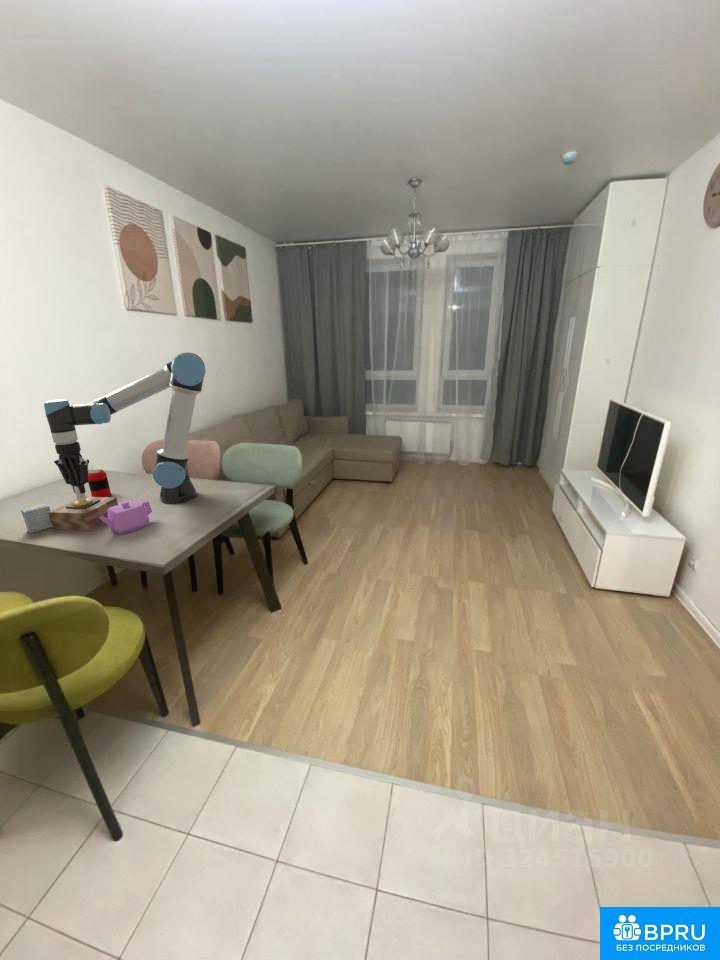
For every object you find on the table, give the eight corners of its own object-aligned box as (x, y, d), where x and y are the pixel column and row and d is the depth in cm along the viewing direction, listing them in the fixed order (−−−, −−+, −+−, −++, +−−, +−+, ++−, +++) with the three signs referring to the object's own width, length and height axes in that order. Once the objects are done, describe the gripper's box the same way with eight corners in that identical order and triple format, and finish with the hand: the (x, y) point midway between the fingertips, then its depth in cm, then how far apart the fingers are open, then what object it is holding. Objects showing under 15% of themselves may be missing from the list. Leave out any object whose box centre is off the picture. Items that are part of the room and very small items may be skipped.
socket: (120, 513, 166) (116, 496, 163) (90, 530, 151) (85, 512, 148) (85, 512, 168) (80, 495, 165) (53, 528, 153) (47, 510, 150)
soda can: (109, 497, 184) (103, 472, 180) (90, 500, 181) (83, 474, 177) (112, 492, 190) (106, 468, 186) (94, 494, 188) (87, 470, 184)
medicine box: (52, 523, 158) (45, 503, 155) (55, 526, 155) (49, 505, 152) (27, 530, 152) (20, 509, 149) (30, 533, 149) (23, 512, 146)
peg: (100, 517, 162) (95, 498, 159) (88, 524, 156) (83, 504, 153) (86, 517, 162) (81, 498, 160) (75, 523, 157) (69, 504, 154)
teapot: (110, 540, 143) (103, 514, 140) (98, 532, 149) (91, 507, 146) (159, 522, 156) (154, 498, 153) (146, 516, 163) (141, 492, 159)
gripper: (90, 440, 151) (104, 497, 159) (59, 439, 153) (75, 496, 161) (74, 444, 144) (90, 505, 152) (42, 444, 146) (59, 503, 154)
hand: (82, 500), depth 156 cm, fingers closed
